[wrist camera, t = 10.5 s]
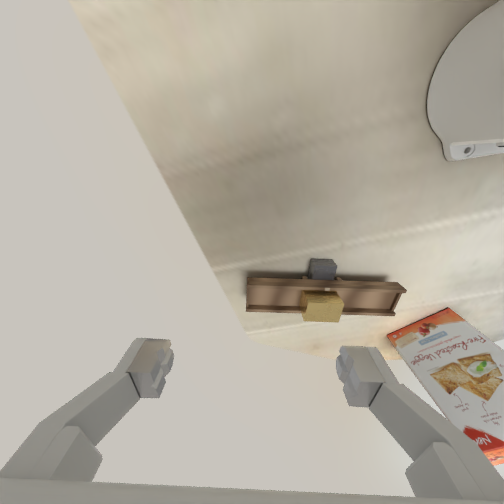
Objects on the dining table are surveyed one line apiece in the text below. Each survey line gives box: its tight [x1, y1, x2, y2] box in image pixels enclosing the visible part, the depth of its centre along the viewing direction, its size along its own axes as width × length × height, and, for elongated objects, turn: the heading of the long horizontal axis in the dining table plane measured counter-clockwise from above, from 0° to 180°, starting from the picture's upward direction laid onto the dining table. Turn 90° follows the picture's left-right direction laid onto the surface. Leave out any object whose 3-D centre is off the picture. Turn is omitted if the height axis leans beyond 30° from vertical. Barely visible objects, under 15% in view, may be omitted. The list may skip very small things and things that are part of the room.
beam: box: [246, 276, 407, 316], centre depth 37 cm, size 28×6×4 cm, turn 88°
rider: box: [299, 290, 344, 322], centre depth 35 cm, size 6×4×4 cm, turn 87°
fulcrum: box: [307, 259, 337, 280], centre depth 39 cm, size 4×12×2 cm, turn 178°
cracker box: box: [387, 308, 504, 466], centre depth 36 cm, size 14×6×21 cm, turn 128°
